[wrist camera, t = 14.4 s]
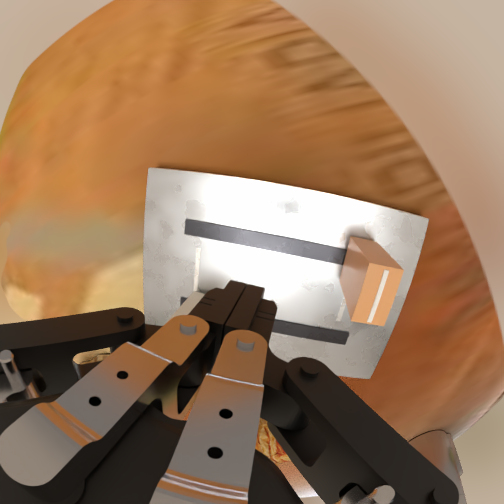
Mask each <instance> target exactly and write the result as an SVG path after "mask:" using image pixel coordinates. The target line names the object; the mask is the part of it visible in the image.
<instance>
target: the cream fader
mask: <svg viewBox="0 0 504 504" xmlns="http://www.w3.org/2000/svg"><path fill="white" fill-rule="evenodd" d="M204 295H205V294H203V293H199V292H195V291H194V292H193V293H192V294H191V295H190V296H189V297H188V298H187V299H186V301H185V302H184V303H183V304H182V305H181V306H180V307H179V308H178V310H177V311H176V312H175V313H174V314H173V315H172V316H171V317H170V319H172V318H173V317H176V316H179V315H188V314H189V313H190V312H191V310H192V309H193V308H194V307H195V306H196V304H197V303H198V302H199V301H200V300H201V298H203V296H204ZM170 319H169V320H170ZM169 320H168V321H169ZM168 321H167V322H168ZM167 322H166V323H167ZM166 323H165V324H166ZM165 324H164V325H165ZM164 325H163V326H164Z"/></svg>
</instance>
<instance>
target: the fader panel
mask: <svg viewBox="0 0 504 504" xmlns="http://www.w3.org/2000/svg"><path fill="white" fill-rule="evenodd" d="M428 221H429V219H428V218H425V217H423V216H420V215H417V214H413V213H410V212H406V211H403V210H399V209H395V208H391V207H388V206H384V205H380V204H376V203H372V202H368V201H363V200H359V199H355V198H351V197H346V196H342V195H337V194H333V193H328V192H323V191H318V190H313V189H308V188H303V187H298V186H292V185H287V184H281V183H275V182H269V181H263V180H257V179H251V178H244V177H237V176H230V175H223V174H215V173H207V172H199V171H190V170H180V169H170V168H159V167H155V168H149V169H148V179H147V190H146V204H145V221H144V249H143V289H144V316H145V324H150V325H158V326H163V325H164V324H165V323H166V322H167V321H168V320H169V319H170V317H171V316H172V315H173V314H174V313H175V312H176V311H177V310H178V308H179V307H180V306H181V305H182V304H183V303H184V302H185V301H186V299H187V298H188V297H189V296H190V295H191V294H192V293H193V292H194V291H195V292H199V293H203V294H206V293H207V291H209V290H211V289H214V288H216V287H217V288H221V289H224V288H225V287H226V285H227V284H228V283H229V281H230V280H234V281H239V282H243V283H247V285H248V284H252V285H256V286H260V287H265V291H264V297H263V299H267V300H271V301H274V302H275V304H276V306H277V308H278V309H277V313H276V317H275V321H274V325H273V329H272V334H271V338H270V341H269V348H270V350H271V351H272V353H273V354H274V355H276V356H277V357H278V358H280V359H282V360H284V361H286V362H289V361H290V360H292V359H294V358H297V357H309V358H314V359H316V360H319V361H321V362H322V363H324V364H325V365H326V366H327V367H328V368H329V369H330V370H331V371H332V372H333V373H334V374H335V375H337V376H345V377H354V378H364V379H370V377H371V375H372V374H373V372H374V370H375V368H376V366H377V364H378V362H379V359H380V357H381V355H382V353H383V351H384V349H385V347H386V345H387V342H388V340H389V338H390V336H391V333H392V331H393V329H394V326H395V324H396V321H397V319H398V316H399V314H400V311H401V309H402V306H403V303H404V301H405V298H406V295H407V293H408V290H409V287H410V284H411V281H412V278H413V275H414V272H415V269H416V266H417V262H418V259H419V256H420V252H421V249H422V245H423V241H424V238H425V234H426V230H427V226H428ZM350 236H353V237H358V238H362V239H367V240H371V241H376V242H377V243H378V244H379V245H380V246H381V247H382V248H383V249H384V250H385V251H386V252H387V253H388V254H389V255H390V256H391V257H392V258H393V259H394V260H395V261H396V262H397V263H398V264H399V265H400V266H401V267H402V268H403V270H404V272H403V275H402V278H401V281H400V284H399V287H398V290H397V293H396V296H395V299H394V301H393V304H392V307H391V309H390V312H389V315H388V317H387V320H386V322H385V325H384V326H379V325H372V324H366V323H359V322H353V321H351V319H350V316H349V312H348V308H347V305H346V301H345V298H344V295H343V291H342V288H341V285H340V281H339V279H340V276H341V272H342V268H343V264H344V260H345V256H346V252H347V248H348V244H349V240H350Z"/></svg>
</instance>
